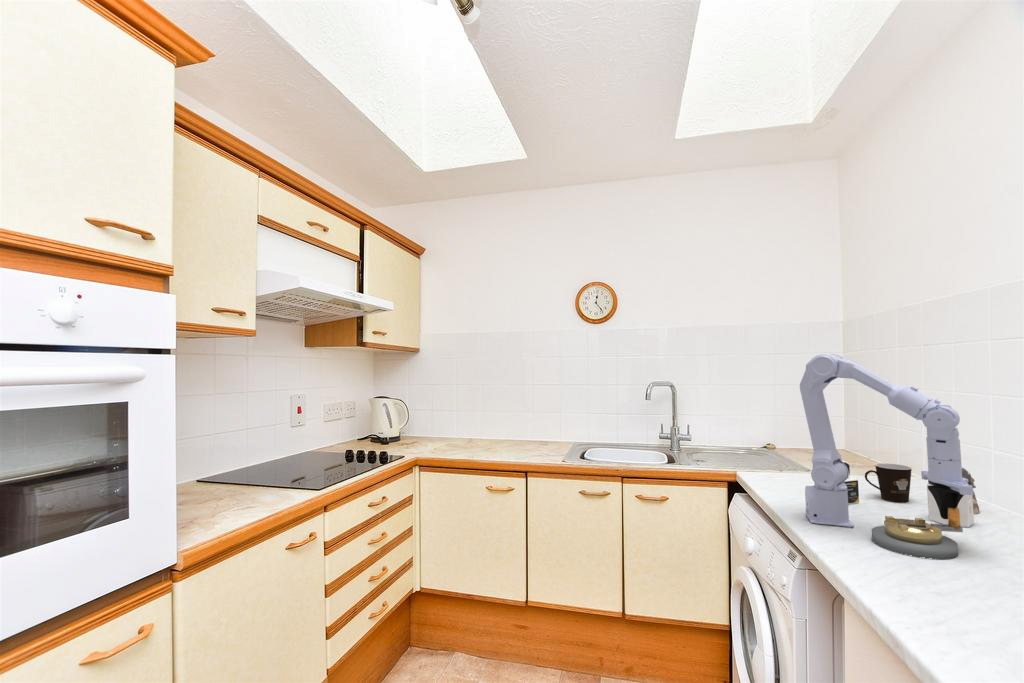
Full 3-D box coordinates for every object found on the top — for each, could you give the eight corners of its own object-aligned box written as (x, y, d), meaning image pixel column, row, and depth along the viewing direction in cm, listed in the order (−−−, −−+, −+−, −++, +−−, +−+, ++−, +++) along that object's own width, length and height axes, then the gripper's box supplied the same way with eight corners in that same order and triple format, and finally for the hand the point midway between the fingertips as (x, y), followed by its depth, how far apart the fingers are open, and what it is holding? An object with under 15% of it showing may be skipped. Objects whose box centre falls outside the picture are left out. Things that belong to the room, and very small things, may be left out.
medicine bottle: (841, 505, 138) (839, 464, 138) (819, 499, 145) (817, 459, 145) (859, 503, 140) (857, 462, 140) (837, 496, 147) (835, 457, 147)
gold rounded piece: (898, 542, 104) (896, 510, 104) (876, 527, 114) (874, 498, 114) (975, 548, 100) (973, 515, 100) (946, 531, 110) (944, 501, 110)
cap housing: (883, 553, 103) (882, 544, 103) (863, 530, 117) (863, 522, 117) (972, 563, 97) (971, 553, 98) (940, 538, 111) (940, 530, 111)
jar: (967, 529, 117) (964, 480, 117) (925, 521, 123) (922, 474, 124) (978, 522, 122) (974, 475, 122) (936, 514, 128) (934, 470, 129)
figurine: (983, 515, 127) (980, 470, 127) (948, 511, 130) (945, 468, 131) (975, 508, 133) (972, 465, 133) (941, 505, 137) (939, 463, 137)
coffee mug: (910, 498, 144) (908, 465, 144) (916, 505, 136) (914, 470, 137) (863, 493, 150) (861, 461, 150) (866, 500, 142) (864, 466, 143)
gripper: (988, 465, 100) (993, 530, 99) (944, 453, 114) (947, 510, 113) (949, 464, 102) (953, 528, 101) (910, 452, 116) (913, 508, 115)
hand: (947, 518), depth 107 cm, fingers closed
